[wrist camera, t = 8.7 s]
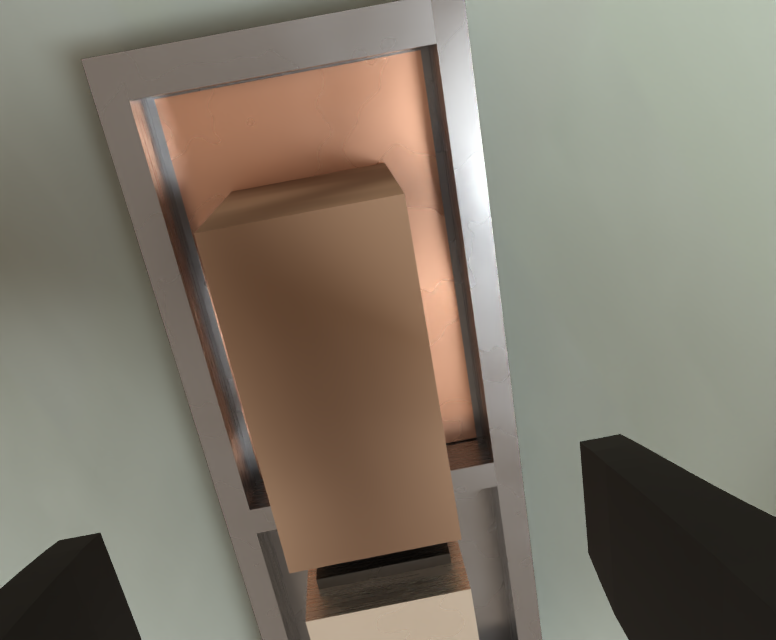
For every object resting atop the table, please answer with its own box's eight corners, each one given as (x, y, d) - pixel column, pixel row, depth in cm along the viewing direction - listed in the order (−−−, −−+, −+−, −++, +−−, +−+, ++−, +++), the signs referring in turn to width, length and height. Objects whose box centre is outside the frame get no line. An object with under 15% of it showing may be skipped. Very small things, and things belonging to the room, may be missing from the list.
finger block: (384, 162, 17) (404, 193, 12) (431, 434, 20) (462, 542, 15) (231, 191, 17) (194, 233, 12) (299, 460, 20) (290, 576, 15)
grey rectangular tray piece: (444, 1, 17) (501, -38, 11) (529, 649, 25) (588, 818, 19) (115, 62, 17) (7, 52, 11) (302, 695, 24) (294, 878, 19)
